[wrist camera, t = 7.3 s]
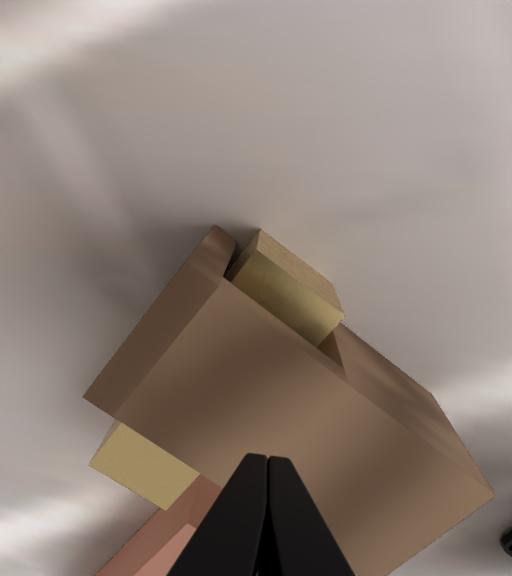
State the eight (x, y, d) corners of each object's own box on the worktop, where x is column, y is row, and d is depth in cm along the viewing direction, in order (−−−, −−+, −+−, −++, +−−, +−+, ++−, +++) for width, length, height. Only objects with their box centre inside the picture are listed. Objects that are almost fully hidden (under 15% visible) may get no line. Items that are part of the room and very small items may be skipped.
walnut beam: (432, 394, 20) (495, 495, 14) (347, 468, 21) (373, 585, 16) (215, 224, 17) (185, 262, 12) (140, 322, 19) (82, 396, 13)
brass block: (260, 227, 18) (256, 249, 14) (331, 281, 18) (345, 316, 14) (122, 408, 21) (88, 464, 17) (185, 447, 22) (166, 511, 18)
